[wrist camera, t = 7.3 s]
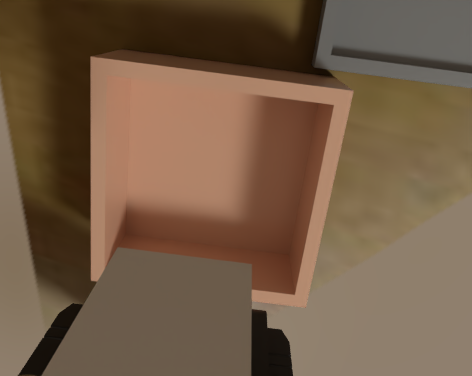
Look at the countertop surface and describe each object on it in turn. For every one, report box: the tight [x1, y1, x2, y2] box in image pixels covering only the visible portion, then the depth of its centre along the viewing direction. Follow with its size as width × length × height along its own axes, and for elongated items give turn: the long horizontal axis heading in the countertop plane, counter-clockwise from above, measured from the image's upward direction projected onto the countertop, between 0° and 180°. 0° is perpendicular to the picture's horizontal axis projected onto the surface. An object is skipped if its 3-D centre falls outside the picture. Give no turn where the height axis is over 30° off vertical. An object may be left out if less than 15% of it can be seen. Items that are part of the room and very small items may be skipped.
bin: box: [91, 49, 353, 308], centre depth 26 cm, size 13×13×6 cm
